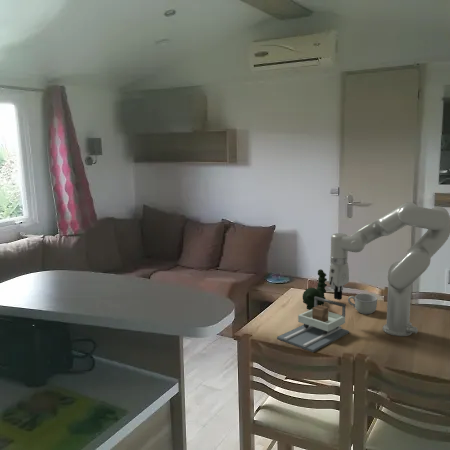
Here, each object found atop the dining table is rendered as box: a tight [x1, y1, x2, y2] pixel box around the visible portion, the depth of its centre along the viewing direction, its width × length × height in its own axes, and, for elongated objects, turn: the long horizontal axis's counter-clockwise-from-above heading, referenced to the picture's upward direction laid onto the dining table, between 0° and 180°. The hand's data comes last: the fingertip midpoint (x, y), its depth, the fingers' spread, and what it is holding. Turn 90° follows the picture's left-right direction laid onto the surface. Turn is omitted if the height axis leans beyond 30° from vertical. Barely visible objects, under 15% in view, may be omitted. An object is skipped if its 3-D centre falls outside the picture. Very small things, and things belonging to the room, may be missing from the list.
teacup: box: [347, 293, 378, 315], centre depth 237 cm, size 14×11×8 cm
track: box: [276, 324, 350, 353], centre depth 210 cm, size 19×27×2 cm
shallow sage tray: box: [297, 296, 347, 334], centre depth 212 cm, size 16×13×11 cm
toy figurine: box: [302, 269, 328, 311], centre depth 245 cm, size 9×19×25 cm
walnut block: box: [312, 305, 329, 322], centre depth 212 cm, size 5×5×6 cm
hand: (337, 298), depth 220 cm, fingers closed
